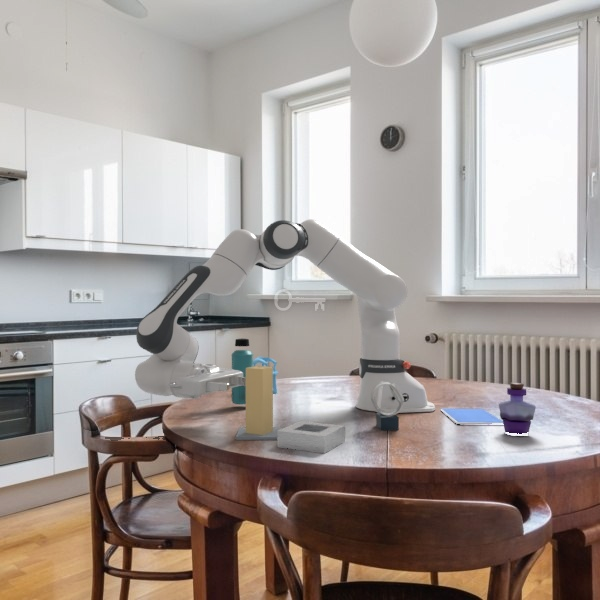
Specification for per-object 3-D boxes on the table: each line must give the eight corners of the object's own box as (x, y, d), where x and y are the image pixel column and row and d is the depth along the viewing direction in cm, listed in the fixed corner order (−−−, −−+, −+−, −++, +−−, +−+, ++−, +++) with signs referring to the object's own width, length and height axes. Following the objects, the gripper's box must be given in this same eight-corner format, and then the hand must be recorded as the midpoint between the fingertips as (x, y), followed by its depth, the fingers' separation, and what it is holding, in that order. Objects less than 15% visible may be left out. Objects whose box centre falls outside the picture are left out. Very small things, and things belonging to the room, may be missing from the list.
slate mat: (281, 429, 139) (281, 427, 139) (280, 439, 129) (280, 437, 129) (239, 429, 139) (239, 427, 139) (235, 439, 129) (235, 437, 129)
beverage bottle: (250, 410, 163) (250, 339, 163) (227, 409, 165) (227, 339, 165) (256, 405, 170) (256, 338, 170) (235, 405, 171) (235, 337, 171)
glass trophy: (406, 430, 139) (406, 384, 139) (373, 430, 138) (373, 384, 138) (400, 424, 144) (400, 381, 144) (369, 425, 144) (369, 381, 144)
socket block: (300, 436, 133) (300, 420, 133) (344, 441, 128) (344, 425, 128) (277, 447, 123) (277, 430, 123) (324, 453, 118) (324, 436, 118)
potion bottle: (504, 428, 141) (504, 379, 141) (541, 433, 135) (541, 382, 135) (491, 434, 134) (491, 383, 134) (529, 440, 128) (529, 387, 128)
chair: (268, 395, 188) (268, 359, 188) (247, 393, 192) (248, 357, 192) (281, 392, 194) (281, 356, 194) (261, 390, 199) (261, 355, 199)
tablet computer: (439, 412, 163) (439, 407, 163) (484, 412, 163) (484, 407, 163) (456, 427, 144) (456, 422, 144) (507, 428, 144) (507, 422, 144)
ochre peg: (256, 428, 137) (256, 365, 137) (272, 430, 135) (272, 367, 135) (245, 432, 133) (245, 367, 133) (262, 435, 131) (262, 369, 131)
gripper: (163, 372, 133) (213, 376, 127) (215, 363, 152) (260, 366, 145) (163, 399, 133) (213, 405, 127) (215, 387, 152) (260, 391, 145)
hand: (238, 384), depth 136 cm, fingers open, 8 cm apart
